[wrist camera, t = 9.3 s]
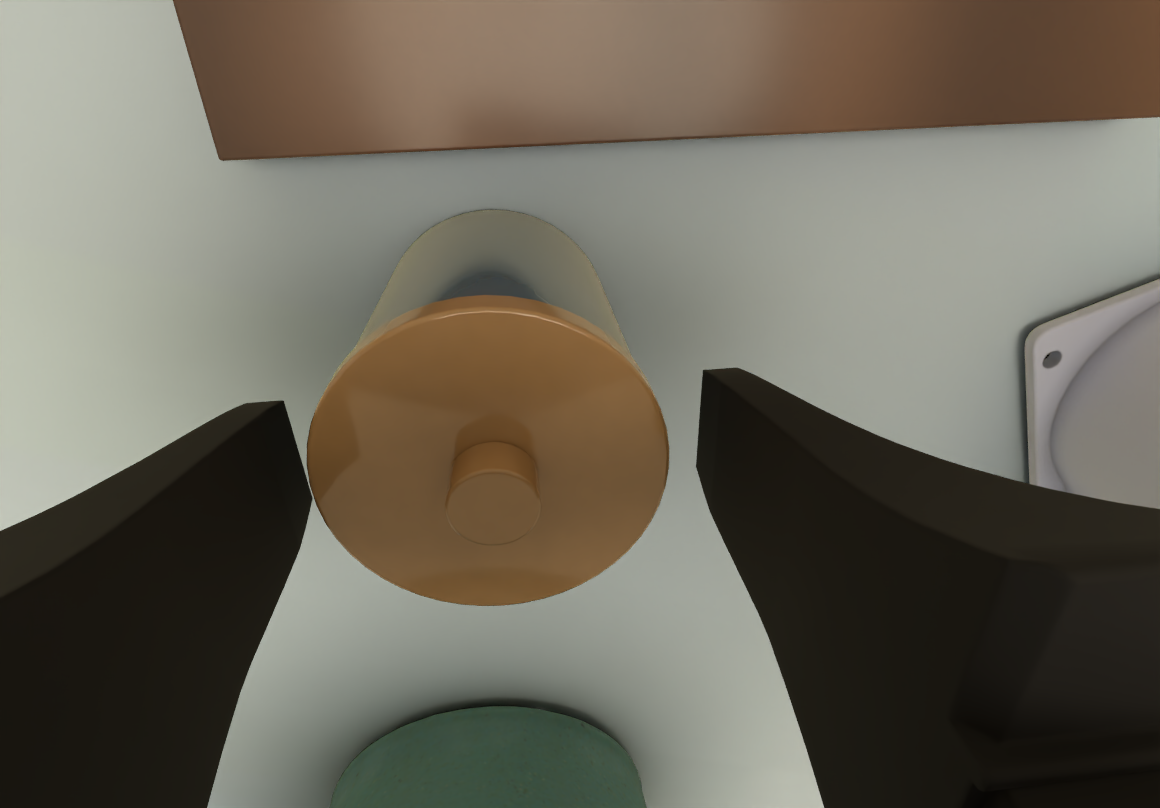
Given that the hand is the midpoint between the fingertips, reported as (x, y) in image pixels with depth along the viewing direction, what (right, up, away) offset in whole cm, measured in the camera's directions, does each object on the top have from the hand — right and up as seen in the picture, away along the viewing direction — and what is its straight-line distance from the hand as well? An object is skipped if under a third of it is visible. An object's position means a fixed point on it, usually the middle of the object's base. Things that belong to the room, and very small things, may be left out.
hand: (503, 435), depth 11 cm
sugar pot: (-1, +3, +5) cm, 5 cm away
